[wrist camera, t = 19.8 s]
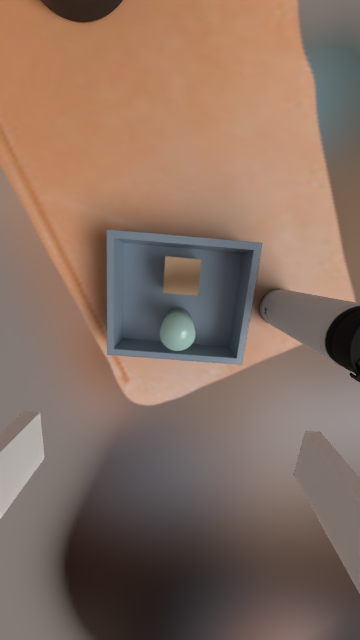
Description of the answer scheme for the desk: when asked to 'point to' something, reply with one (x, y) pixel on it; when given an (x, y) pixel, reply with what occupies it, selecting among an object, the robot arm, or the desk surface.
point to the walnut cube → (181, 275)
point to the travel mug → (317, 324)
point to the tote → (179, 295)
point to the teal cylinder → (177, 329)
